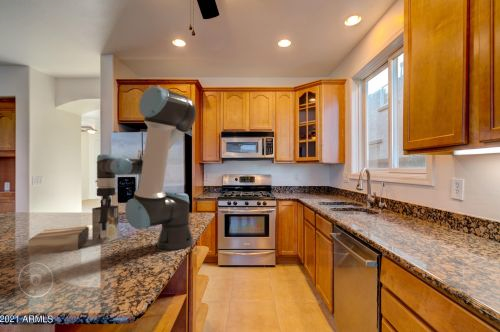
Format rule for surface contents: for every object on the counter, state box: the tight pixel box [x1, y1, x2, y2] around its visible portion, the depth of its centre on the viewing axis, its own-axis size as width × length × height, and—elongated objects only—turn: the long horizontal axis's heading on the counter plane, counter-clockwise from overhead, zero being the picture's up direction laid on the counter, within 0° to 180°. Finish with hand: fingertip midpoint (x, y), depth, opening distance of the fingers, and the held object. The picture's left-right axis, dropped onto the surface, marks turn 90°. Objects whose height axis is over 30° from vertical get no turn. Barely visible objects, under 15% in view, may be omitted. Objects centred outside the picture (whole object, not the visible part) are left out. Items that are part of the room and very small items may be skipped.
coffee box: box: [91, 205, 119, 245], centre depth 111 cm, size 9×6×16 cm
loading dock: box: [27, 225, 90, 256], centre depth 104 cm, size 18×17×6 cm
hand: (105, 234), depth 111 cm, fingers closed on coffee box, 10 cm apart
